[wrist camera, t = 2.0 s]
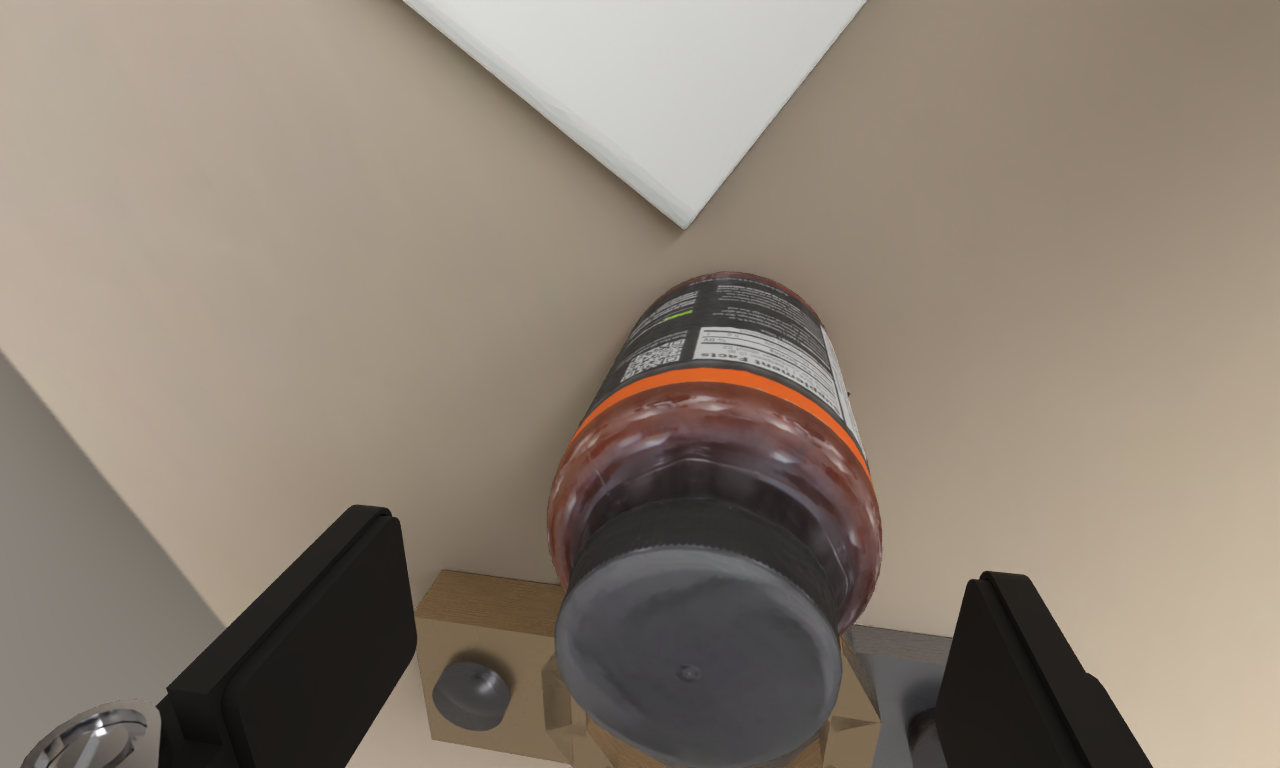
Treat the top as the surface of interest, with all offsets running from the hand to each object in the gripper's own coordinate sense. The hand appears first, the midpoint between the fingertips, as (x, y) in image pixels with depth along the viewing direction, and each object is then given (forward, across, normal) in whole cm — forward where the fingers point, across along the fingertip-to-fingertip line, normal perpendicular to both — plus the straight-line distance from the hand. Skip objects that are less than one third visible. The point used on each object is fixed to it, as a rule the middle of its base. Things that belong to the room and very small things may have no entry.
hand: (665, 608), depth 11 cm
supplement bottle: (+10, -1, -1) cm, 10 cm away
